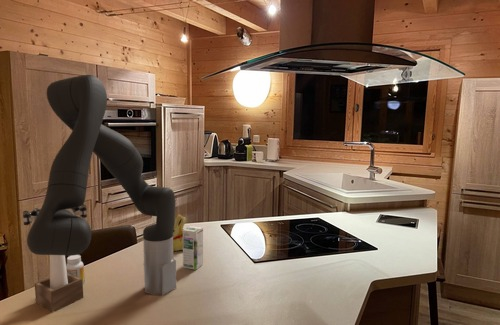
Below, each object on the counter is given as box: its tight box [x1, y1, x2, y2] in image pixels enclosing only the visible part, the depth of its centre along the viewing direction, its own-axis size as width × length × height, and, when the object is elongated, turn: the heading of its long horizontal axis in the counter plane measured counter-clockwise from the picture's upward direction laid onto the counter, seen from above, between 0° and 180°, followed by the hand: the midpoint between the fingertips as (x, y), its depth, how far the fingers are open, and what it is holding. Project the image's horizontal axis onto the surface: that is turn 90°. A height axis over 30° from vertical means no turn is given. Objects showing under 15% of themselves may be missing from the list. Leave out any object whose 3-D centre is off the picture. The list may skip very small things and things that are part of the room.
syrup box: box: [182, 225, 204, 271], centre depth 131 cm, size 6×6×14 cm
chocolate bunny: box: [173, 213, 187, 252], centre depth 146 cm, size 7×11×15 cm, turn 116°
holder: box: [34, 273, 84, 312], centre depth 106 cm, size 9×9×6 cm
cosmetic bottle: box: [49, 255, 68, 290], centre depth 105 cm, size 6×6×22 cm
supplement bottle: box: [66, 254, 85, 286], centre depth 115 cm, size 5×5×10 cm
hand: (55, 209), depth 95 cm, fingers open, 8 cm apart
